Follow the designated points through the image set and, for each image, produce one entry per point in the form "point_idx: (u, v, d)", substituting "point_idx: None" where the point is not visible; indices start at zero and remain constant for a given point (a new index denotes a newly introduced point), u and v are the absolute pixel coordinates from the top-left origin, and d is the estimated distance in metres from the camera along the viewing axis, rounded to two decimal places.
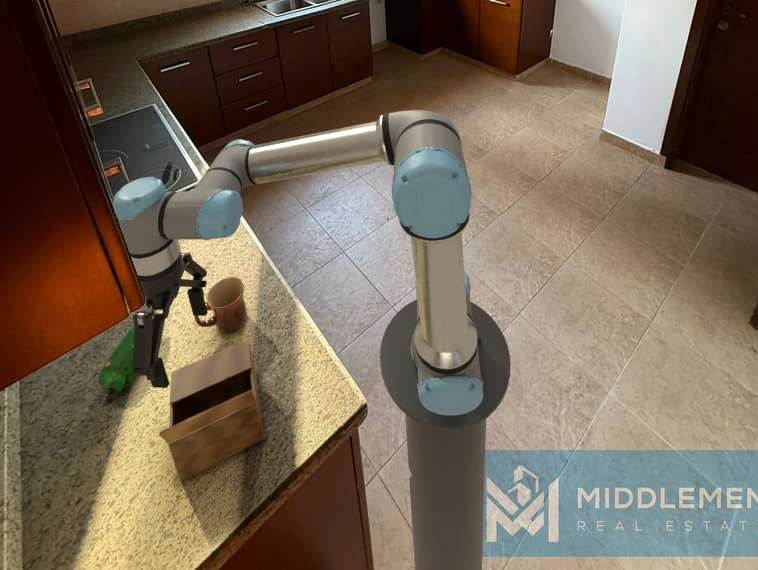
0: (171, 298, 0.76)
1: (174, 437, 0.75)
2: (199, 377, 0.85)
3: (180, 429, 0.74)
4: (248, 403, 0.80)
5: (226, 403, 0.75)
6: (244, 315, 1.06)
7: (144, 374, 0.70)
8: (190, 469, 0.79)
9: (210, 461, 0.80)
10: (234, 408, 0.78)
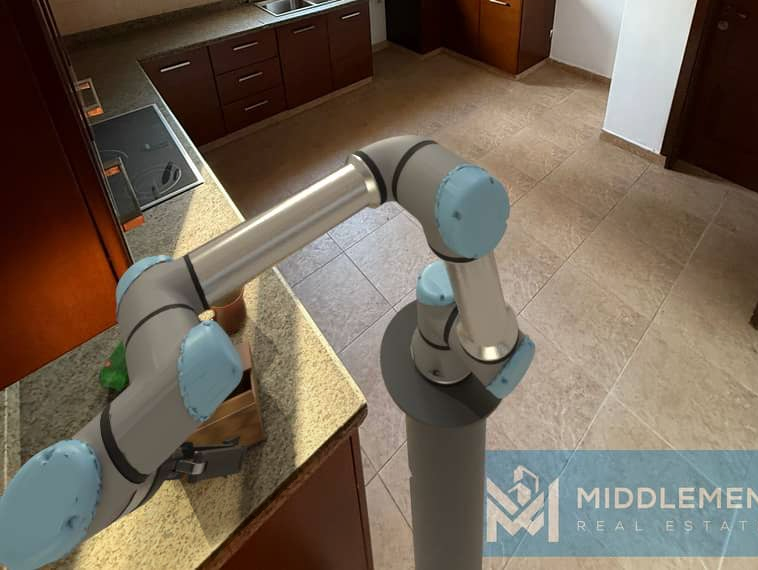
0: None
1: None
2: None
3: None
4: (248, 403, 0.80)
5: (226, 403, 0.75)
6: (244, 315, 1.06)
7: (246, 449, 0.58)
8: None
9: None
10: (234, 408, 0.78)
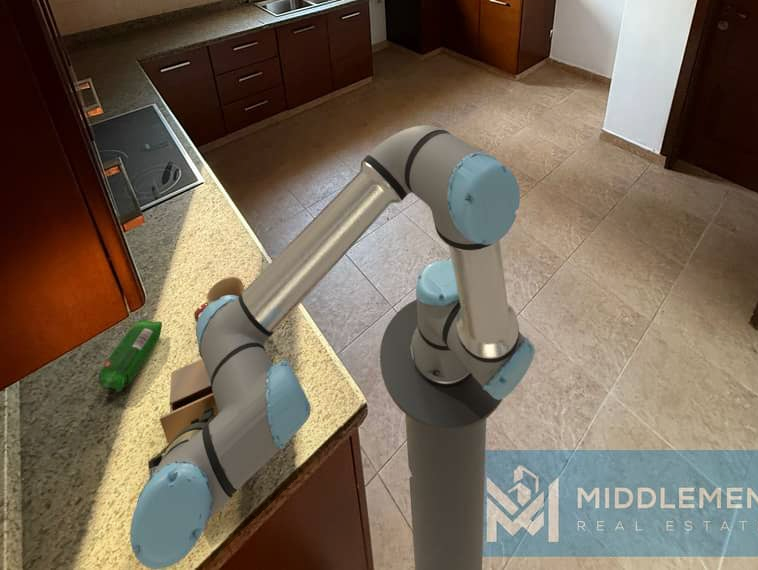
0: None
1: (174, 433, 0.75)
2: (199, 377, 0.85)
3: (180, 419, 0.75)
4: None
5: None
6: None
7: None
8: None
9: None
10: None
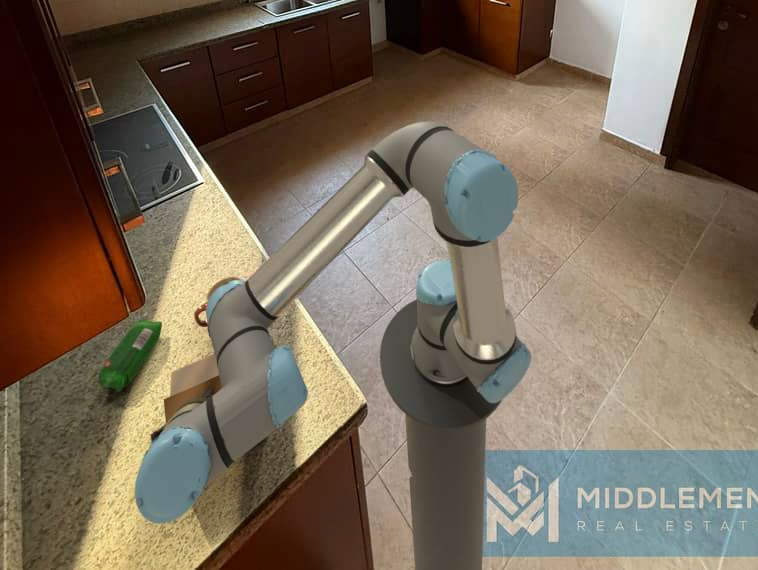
0: None
1: None
2: (199, 377, 0.85)
3: None
4: None
5: None
6: None
7: None
8: None
9: None
10: None
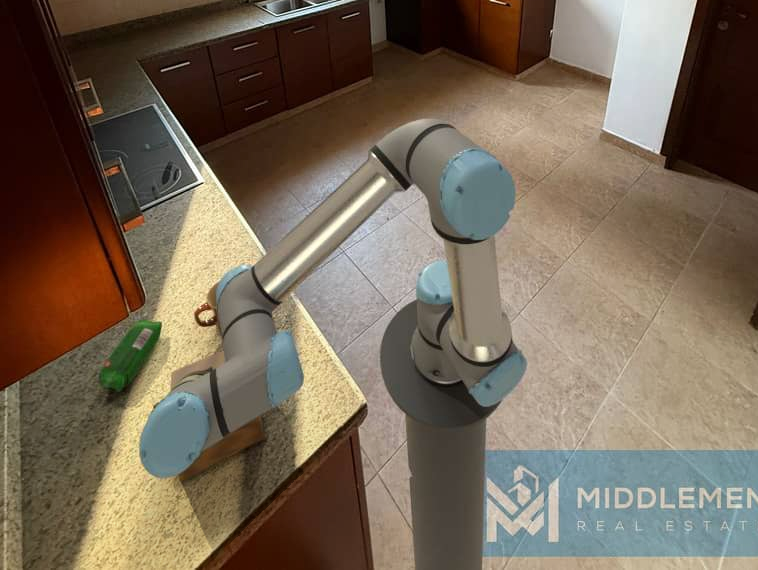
0: None
1: None
2: None
3: None
4: None
5: None
6: None
7: None
8: (190, 469, 0.79)
9: (210, 461, 0.80)
10: None
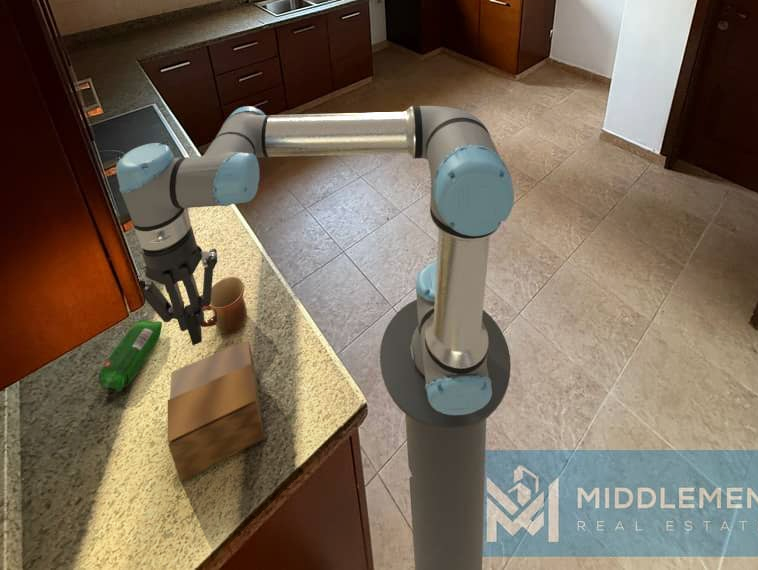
0: None
1: (176, 426, 0.77)
2: (199, 377, 0.85)
3: (184, 405, 0.79)
4: (247, 396, 0.81)
5: (227, 374, 0.84)
6: (244, 315, 1.06)
7: None
8: (190, 469, 0.79)
9: (210, 461, 0.80)
10: (234, 397, 0.81)
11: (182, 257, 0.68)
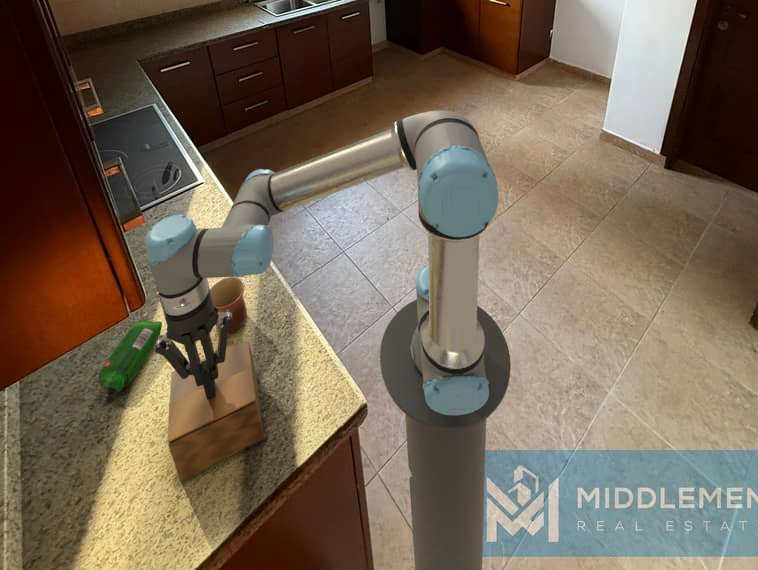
0: None
1: (176, 427, 0.77)
2: None
3: (185, 408, 0.80)
4: (247, 397, 0.81)
5: (228, 378, 0.84)
6: (244, 315, 1.06)
7: None
8: (190, 469, 0.79)
9: (210, 461, 0.80)
10: (234, 398, 0.81)
11: (201, 320, 0.73)
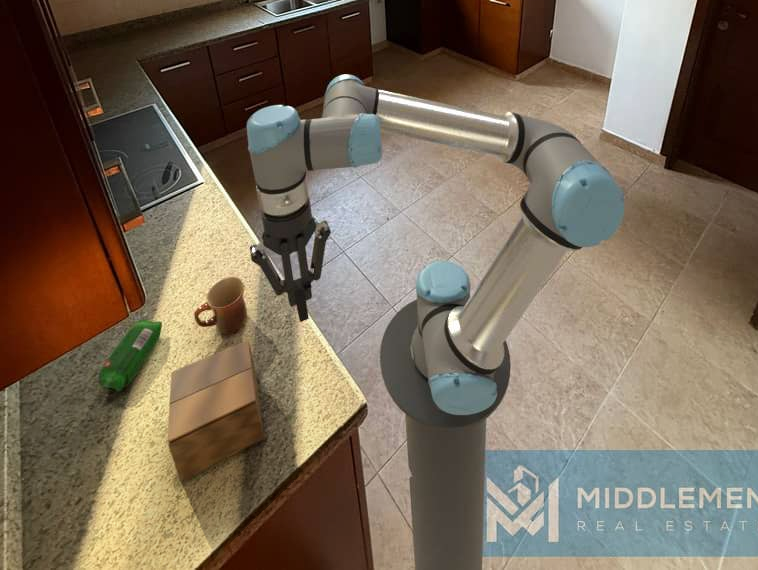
0: None
1: (176, 427, 0.77)
2: (199, 377, 0.85)
3: (185, 408, 0.80)
4: (247, 397, 0.81)
5: (228, 379, 0.85)
6: (244, 315, 1.06)
7: None
8: (190, 469, 0.79)
9: (210, 461, 0.80)
10: (234, 398, 0.81)
11: (303, 225, 0.65)
